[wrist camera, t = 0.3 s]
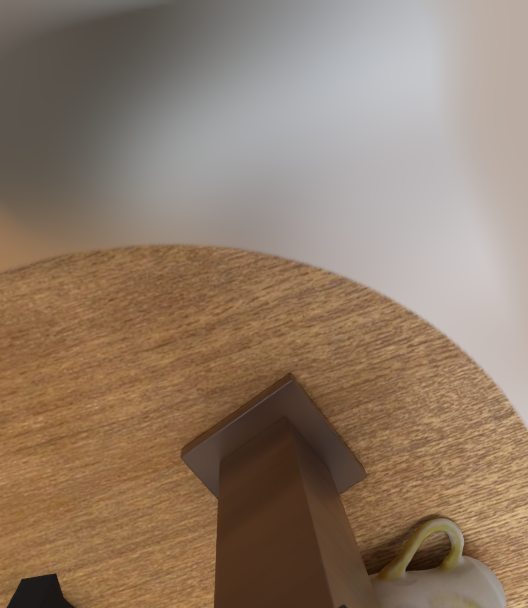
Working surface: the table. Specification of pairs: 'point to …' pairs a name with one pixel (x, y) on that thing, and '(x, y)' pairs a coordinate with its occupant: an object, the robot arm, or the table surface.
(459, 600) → the mug
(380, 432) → the table surface
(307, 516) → the stand
